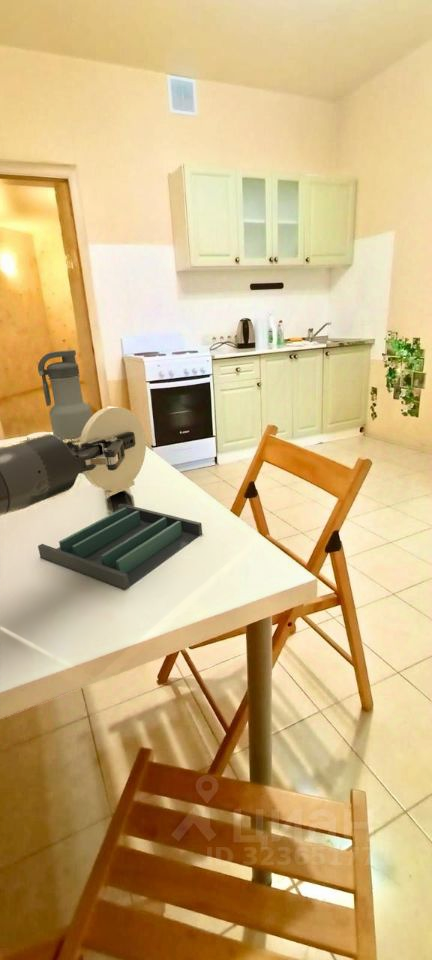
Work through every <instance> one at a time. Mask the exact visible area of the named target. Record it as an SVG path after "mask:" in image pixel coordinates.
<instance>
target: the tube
mask: <svg viewBox="0 0 432 960" xmlns="http://www.w3.org/2000/svg"><path fill="white" fill-rule="evenodd" d="M105 491H106V490H104V492H105ZM120 492H123V495H124V499H125V503H126V505H130V506H134V507H136V506H135V499H134V495H133V494H132V493H131V490H130V487H129V488H127V489H125V490H123V491H120ZM120 492H119V493H120ZM111 497H112V496H108V495H105V497H104V502H105V507H106V511H108V512H109V513H110V515H111V514H112V513H114V509H113V503H112V498H111Z"/></svg>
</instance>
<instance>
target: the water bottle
mask: <svg viewBox="0 0 432 960" xmlns="http://www.w3.org/2000/svg"><path fill="white" fill-rule="evenodd" d="M76 356H77V353H76V349H70V350H69V349H68V350H56V351H50V352H48V353H45V355H43V356H42V357H41V358H40V360H39V361H38V363H37V371H38V375H39V376H41V380H42V390H43V394H44V399H45V404H46V406H47V407H50V406H51V404H52V398H51V393H50V388H49V382H48V381H47V377H48V380H49V381H50V386H51V391H52V397H53V402H54V405H53V406H52V407H51V408H50V409H49V419H50V424H51V430H52V435H55V436H57V437H59V438H60V439H63V438H70V437H77V436H81V434H82V431H83V429H84V427H85V425H86V423H87V422H88V420H89V419H90V418H91V417H92V416H93V412H92V411H93V410H92V408H91V406H90V405H89V403H87V402H85V401H84V399H83V394H82V393H83V392H82V387H81V382H80V377H81V375H80V369H79V364H78V363H77V359H76ZM55 358H61V361H58V362H52V363H50V364H48V365H47V366H46V363H47V362H48V361H49V360H51V359H55ZM45 366H46V369H45Z"/></svg>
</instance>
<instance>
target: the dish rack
mask: <svg viewBox="0 0 432 960" xmlns="http://www.w3.org/2000/svg"><path fill="white" fill-rule="evenodd" d="M117 507H118V510H116V511H113V513H112V514H111V513H110V514H109V515H106V516H105V517H103V518H101V519H98V520H97V521H95V522H92V523H91V524H90V525H88V526H86V527H84V528H82V529H79V530H78V531H76V532H74V533H72V534H71V535H68V536H67V537H65V538H62V539H61V540H59V541H58V544H59V547H57V548H55V547H52V546H49V545H47V544H44V543H41V544H39V545H37V549H38V553H39V558H40V559H41V560H44V561H46V562H49V563H52V564H54V565H57V566H60V567H62V568H65V569H67V570H70V571H72V572H75V573H78V574H81V575H83V576H86V577H87V578H91V579H94V580H96V581H99V582H101V583H104V584H106V585H109V586H112V587H114V588H116V589H120V590H122V591H126V590H128V589H129V588H131V587H132V586H133V585H135V584H136V583H137V582H139V581H140V580H142V579H143V578H145V577H146V576H147V575H149V574H150V573H151V572H153V571H154V570H155V569H157V568H158V567H160V566H161V565H163V563H165V562H167V561H168V560H169V559H170V558H172V557H173V556H174V555H176V554H177V553H179V552H180V551H182V550H183V549H184V548H186V547H187V546H188V545H190V544H191V543H193V542H194V541H195V540H197V539H198V538H199V537H201V536H202V535H203V525H202V522H198V521H196V520H191V519H188V518H184V517H179V516H175V515H171V514H166V513H162V512H159V511H155V510H150V509H146V508H141V507H138V506H135V507H134V506H130V505H127V503H126V504H125V503H120V504H118V505H117Z"/></svg>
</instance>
